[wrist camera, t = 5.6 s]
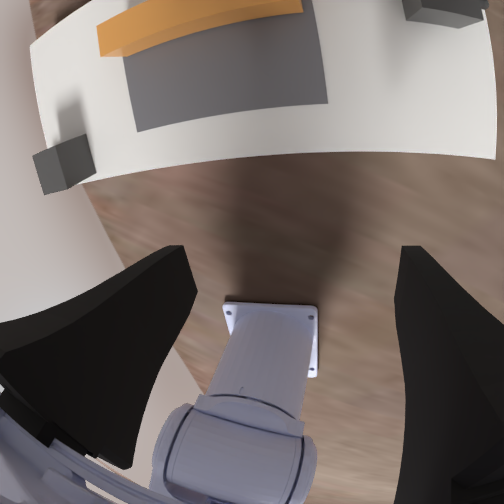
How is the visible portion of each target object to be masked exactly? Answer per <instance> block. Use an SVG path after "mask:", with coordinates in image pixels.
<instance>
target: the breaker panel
mask: <svg viewBox="0 0 504 504" xmlns="http://www.w3.org/2000/svg"><path fill="white" fill-rule="evenodd" d="M145 1H147V0H92V1H90V2H88V3H87V4H85V5H84V6H82V7H81V8H79V9H78V10H76V11H75V12H73V13H72V14H70V15H69V16H67V17H66V18H65V19H63V20H62V21H60V22H59V23H58V24H56V25H55V26H54V27H52V28H51V29H50V30H49V31H47V32H46V33H45V34H43V35H42V36H41V37H40V38H39V39H37V40H36V41H35V42H34V43H33V44H31V45H30V54H31V63H32V71H33V79H34V85H35V92H36V97H37V103H38V108H39V113H40V117H41V122H42V127H43V132H44V136H45V140H46V144H47V148H50V147H53V146H55V145H57V144H60V143H62V142H65V141H67V140H70V139H73V138H75V137H78V136H81V135H83V134H86V135H87V139H88V143H89V147H90V151H91V154H92V158H93V162H94V165H95V169H96V172H97V173H96V174H94V175H92V176H90V177H89V178H87V179H85V180H83V181H81V182H79V183H78V184H82V183H86V182H90V181H95V180H99V179H104V178H109V177H114V176H119V175H124V174H129V173H134V172H140V171H145V170H151V169H157V168H163V167H169V166H176V165H183V164H190V163H197V162H205V161H213V160H222V159H231V158H241V157H251V156H263V155H276V154H292V153H312V152H350V151H377V152H413V153H432V154H446V155H459V156H469V157H479V158H487V159H495V155H496V135H497V104H496V84H495V72H494V62H493V54H492V47H491V41H490V35H489V29H488V24H487V19H486V15H485V10H483V9H482V14H483V18H484V21H480V22H477V23H474V24H471V25H468V26H466V27H463V28H460V29H457V28H452V27H447V26H441V25H435V24H428V23H421V22H413V21H406V18H405V14H404V9H403V4H402V0H301V2H302V7H303V12H302V13H292V14H283V15H276V16H269V17H263V18H257V19H251V20H246V21H241V22H236V23H231V24H227V25H222V26H218V27H214V28H210V29H206V30H203V31H199V32H195V33H192V34H189V35H185V36H182V37H179V38H176V39H173V40H170V41H167V42H164V43H161V44H158V45H155V46H153V47H150V48H147V49H145V50H142V51H140V52H137V53H135V54H132V55H130V56H128V57H100V50H99V43H98V36H97V28H96V26H97V25H99V24H101V23H103V22H104V21H106V20H108V19H110V18H112V17H114V16H116V15H118V14H120V13H122V12H124V11H126V10H128V9H130V8H132V7H134V6H136V5H138V4H141V3H143V2H145ZM76 185H77V184H76Z"/></svg>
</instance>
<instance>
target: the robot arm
mask: <svg viewBox="0 0 504 504" xmlns="http://www.w3.org/2000/svg"><path fill="white" fill-rule="evenodd" d="M197 292H198V291H197V288H196V284H195V281H194V278H193V275H192V272H191V269H190V266H189V262H188V259H187V256H186V253H185V249H184V246H183V245H169V246H166V247H164V248H162V249H160V250H158V251H156V252H154V253H152V254H150V255H149V256H147V257H145V258H143V259H142V260H140V261H138V262H137V263H135V264H133V265H132V266H130V267H128V268H127V269H125V270H123V271H122V272H120V273H118V274H116V275H115V276H113V277H111V278H109V279H108V280H106V281H104V282H103V283H101V284H99V285H97V286H96V287H94V288H92V289H90V290H88V291H86V292H85V293H83V294H80V295H78V296H76V297H74V298H72V299H70V300H68V301H66V302H63V303H61V304H58V305H56V306H53V307H51V308H49V309H46V310H44V311H41V312H38V313H35V314H32V315H29V316H26V317H22V318H19V319H16V320H11V321H7V322H2V323H0V384H1V385H2V386H3V388H5V389H4V391H3V392H2V393H1V392H0V504H117V503H115V502H113V501H111V500H109V499H107V498H105V497H103V496H101V495H99V494H97V493H95V492H94V491H92V490H90V489H88V488H87V487H86V482H85V480H87V481H88V482H90V483H92V484H93V485H95V486H97V487H98V488H100V489H102V490H104V491H105V492H107V493H109V494H111V495H113V496H114V497H116V498H118V499H120V500H122V501H124V502H126V503H128V504H303V503H304V501H305V499H306V497H307V495H308V493H309V490H310V488H311V485H312V482H313V478H314V475H315V470H316V464H317V449H316V446H315V444H314V443H313V440H312V438H311V437H309V436H306V435H302V434H303V429H304V424H305V423H304V422H303V421H299V420H300V415H301V410H302V405H303V399H304V394H305V388H306V383H307V377H316V376H317V370H318V310H317V308H316V307H315V306H310V305H282V304H260V303H242V302H225V303H224V304H223V311H224V315H225V318H226V322H227V325H228V329H229V332H230V338H229V340H228V343H227V345H226V348H225V350H224V352H223V355H222V357H221V359H220V362H219V364H218V366H217V369H216V371H215V373H214V376H213V378H212V380H211V383H210V385H209V387H208V390H207V392H206V394H205V395H202V394H199V396H198V399H197V400H196V403H195V405H191V404H188V403H186V404H183V405H182V406H181V407H178V408H176V409H175V410H174V411H172V412H171V414H170V415H169V416H168V418H167V420H166V421H165V423H164V425H163V427H162V429H161V431H160V434H159V436H158V439H157V441H156V444H155V448H154V452H153V457H152V467H153V470H152V476H151V481H150V485H149V489H150V490H149V489H147V488H144V487H142V486H140V485H137V484H135V483H133V482H131V481H129V480H127V479H125V478H123V477H121V476H119V475H117V474H115V473H113V472H111V471H109V470H107V469H105V468H103V467H101V466H99V465H98V464H96V463H94V462H92V461H91V460H89V459H87V458H86V457H85V455H86V454H88V455H89V456H91V457H93V458H97V457H99V458H101V459H103V460H105V461H106V462H109V463H110V464H112V465H114V466H116V467H118V468H120V469H123V470H125V469H129V468H131V467H132V464H133V457H134V452H135V447H136V441H137V437H138V433H139V429H140V425H141V422H142V417H143V414H144V411H145V408H146V405H147V402H148V399H149V396H150V393H151V390H152V388H153V385H154V383H155V380H156V378H157V375H158V372H159V370H160V368H161V366H162V364H163V362H164V360H165V358H166V357H167V355H168V353H169V351H170V349H171V347H172V346H173V344H174V342H175V340H176V338H177V337H178V335H179V333H180V331H181V329H182V327H183V326H184V324H185V322H186V320H187V318H188V316H189V314H190V311H191V309H192V306H193V304H194V301H195V298H196V295H197ZM394 303H395V318H396V328H397V334H398V340H399V347H400V353H401V360H402V367H403V374H404V382H405V395H406V407H405V431H404V443H403V453H402V461H401V468H400V475H399V481H398V486H397V491H396V495H395V500H394V504H504V325H503V324H502V323H501V322H500V321H499V320H498V319H496V318H495V317H494V316H493V315H492V314H490V313H489V312H488V311H487V310H486V309H485V308H484V307H482V306H481V305H480V304H479V303H478V302H477V301H476V300H475V299H474V298H473V297H472V296H471V295H470V294H469V293H468V292H467V291H465V290H464V289H463V288H462V287H461V286H460V285H459V284H458V283H457V282H456V281H455V280H454V279H453V278H452V277H451V276H450V275H449V274H448V273H447V272H446V271H445V270H444V269H443V267H442V266H441V265H440V264H439V263H438V262H437V261H436V260H435V259H434V258H433V257H432V256H431V255H430V254H429V253H428V252H427V251H426V250H424V249H423V248H422V247H421V246H402V249H401V257H400V264H399V271H398V278H397V284H396V290H395V296H394ZM229 311H230V312H229ZM310 315H312V316H313V317H311V316H310Z"/></svg>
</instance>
